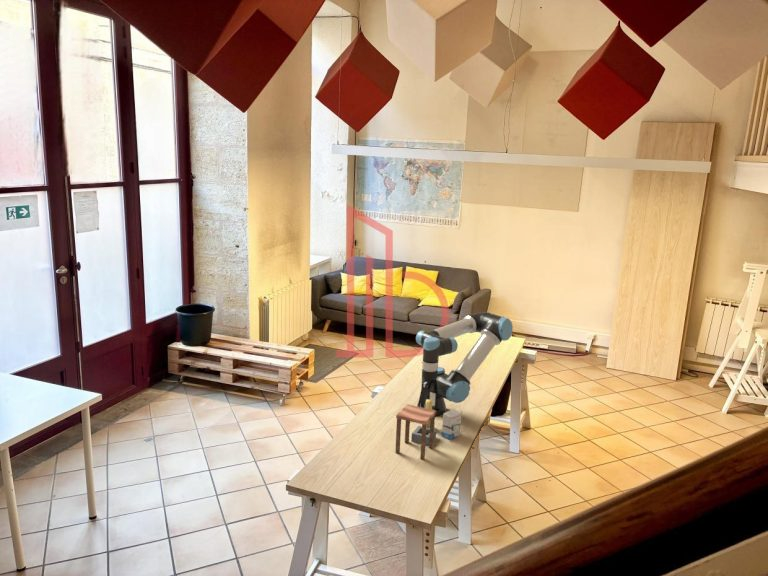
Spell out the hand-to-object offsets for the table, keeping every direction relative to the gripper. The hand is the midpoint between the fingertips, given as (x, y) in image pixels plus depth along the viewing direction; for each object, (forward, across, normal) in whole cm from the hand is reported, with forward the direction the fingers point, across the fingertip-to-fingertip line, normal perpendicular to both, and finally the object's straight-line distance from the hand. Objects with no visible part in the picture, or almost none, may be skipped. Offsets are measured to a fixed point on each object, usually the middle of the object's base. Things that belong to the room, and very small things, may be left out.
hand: (427, 410), depth 293 cm
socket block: (+9, +12, +3) cm, 16 cm away
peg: (+9, 0, 0) cm, 9 cm away
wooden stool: (+9, +24, +3) cm, 26 cm away
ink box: (+9, +2, +13) cm, 17 cm away
